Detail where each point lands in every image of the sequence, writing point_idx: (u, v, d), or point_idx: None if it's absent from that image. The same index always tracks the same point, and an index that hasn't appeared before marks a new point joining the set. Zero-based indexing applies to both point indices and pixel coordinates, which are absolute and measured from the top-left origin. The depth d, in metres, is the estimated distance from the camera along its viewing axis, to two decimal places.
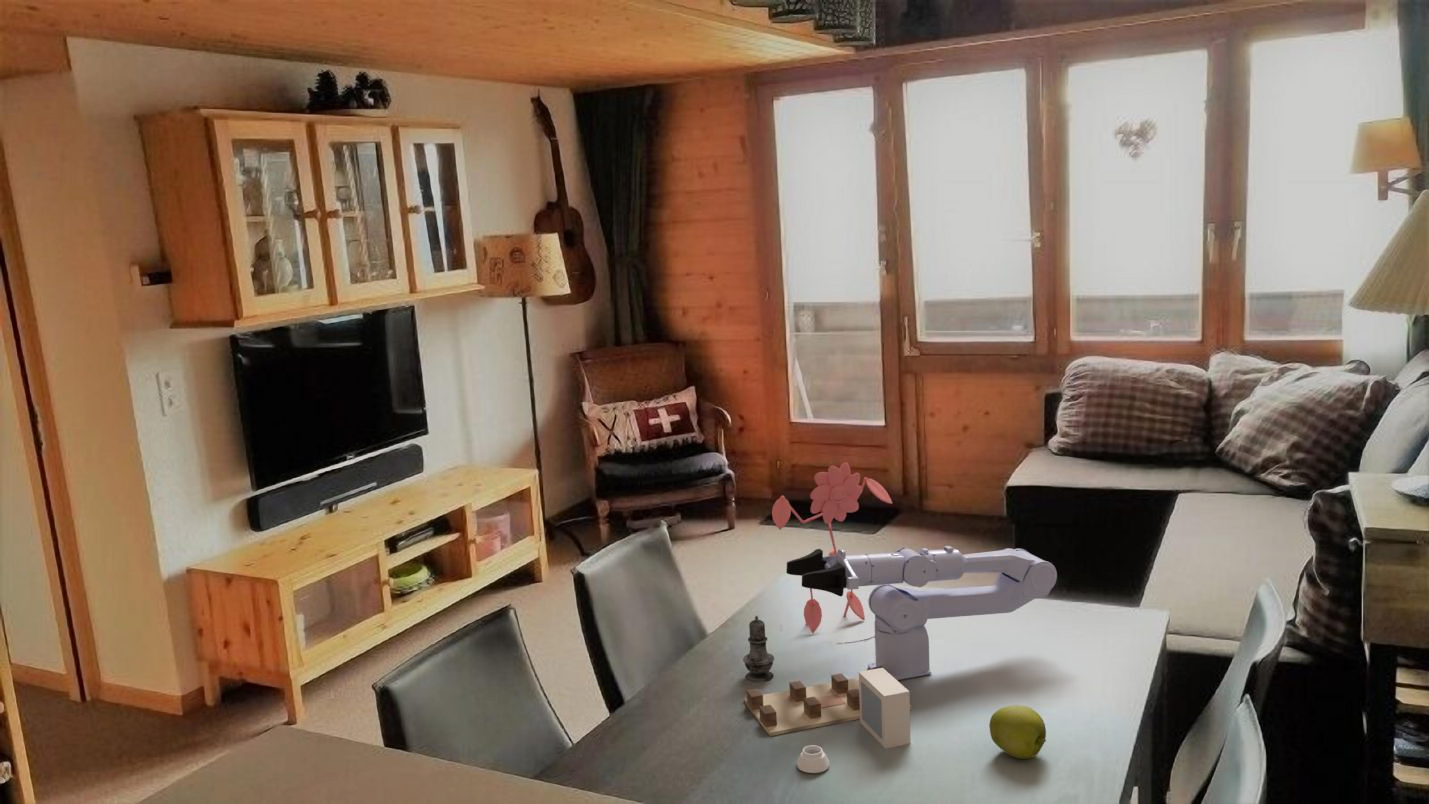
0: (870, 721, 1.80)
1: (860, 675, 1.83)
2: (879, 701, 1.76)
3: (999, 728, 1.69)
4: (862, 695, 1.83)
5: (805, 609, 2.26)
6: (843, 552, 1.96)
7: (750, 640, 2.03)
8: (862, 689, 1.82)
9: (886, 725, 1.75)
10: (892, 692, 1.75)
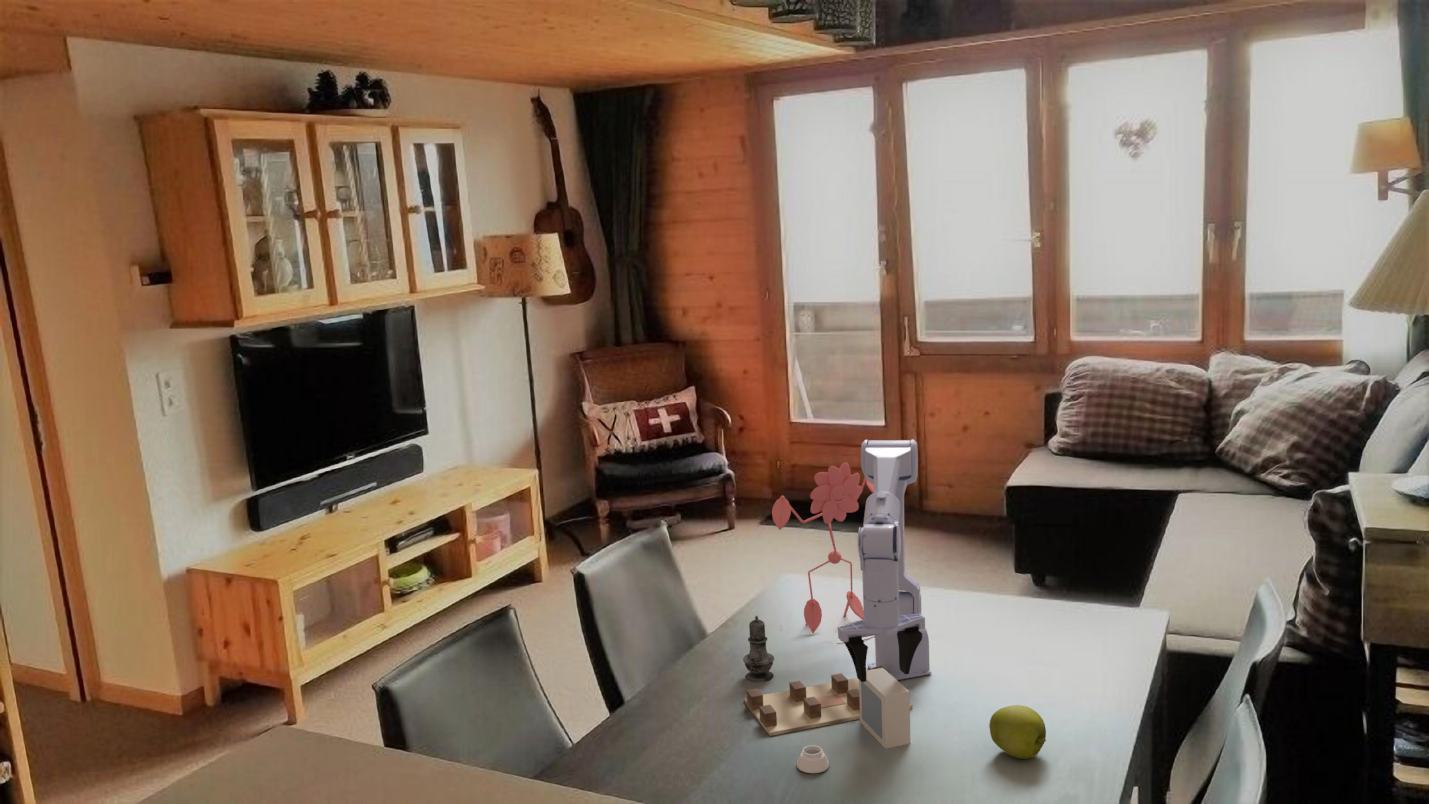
0: (870, 721, 1.80)
1: None
2: (879, 701, 1.76)
3: (999, 728, 1.69)
4: (862, 695, 1.83)
5: (805, 609, 2.26)
6: (897, 631, 1.74)
7: (750, 640, 2.03)
8: (862, 689, 1.82)
9: (886, 725, 1.75)
10: (892, 692, 1.75)
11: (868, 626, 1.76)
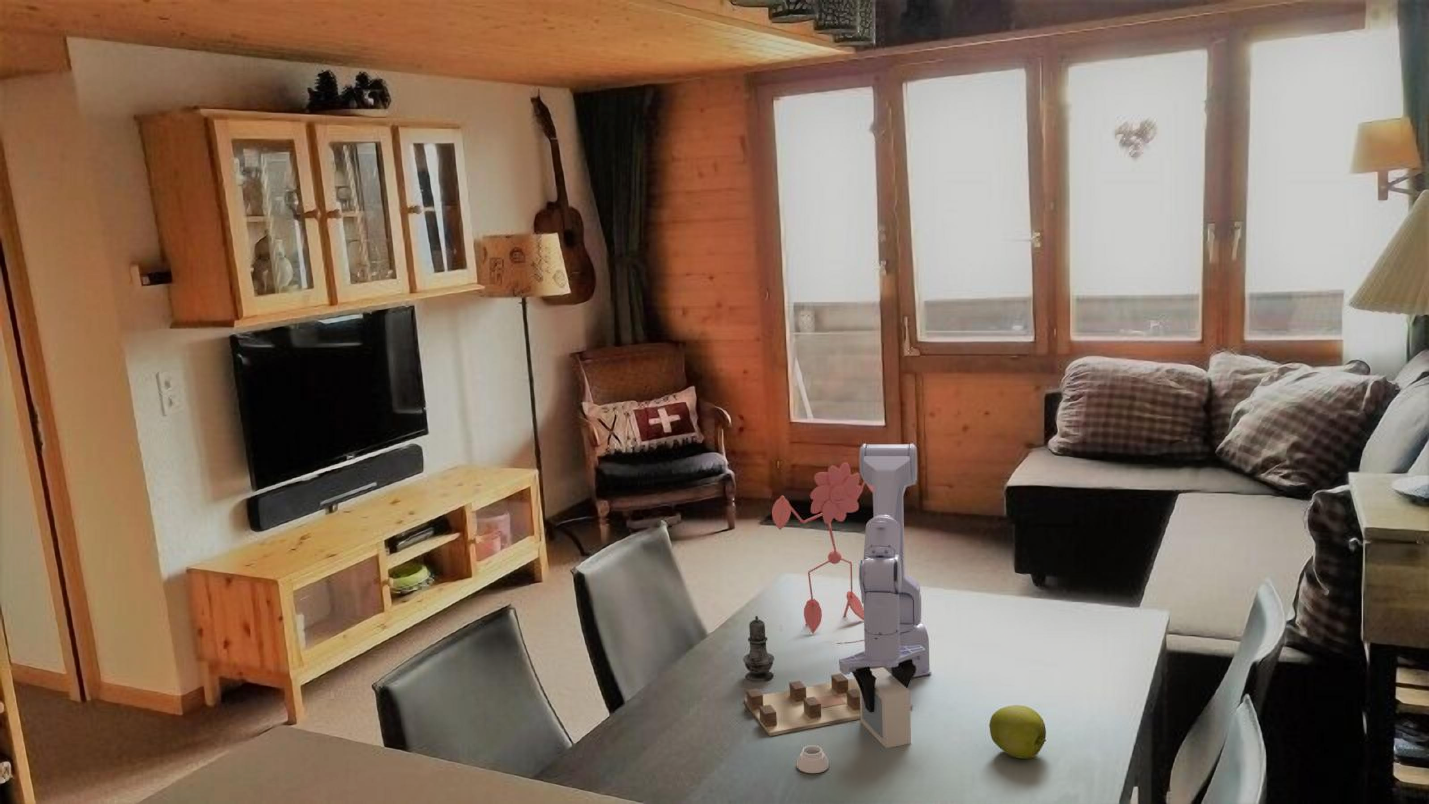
0: (870, 721, 1.80)
1: None
2: (879, 700, 1.76)
3: (999, 728, 1.69)
4: None
5: (805, 609, 2.26)
6: (897, 664, 1.75)
7: (750, 640, 2.03)
8: None
9: (886, 724, 1.75)
10: (893, 692, 1.75)
11: (869, 658, 1.77)
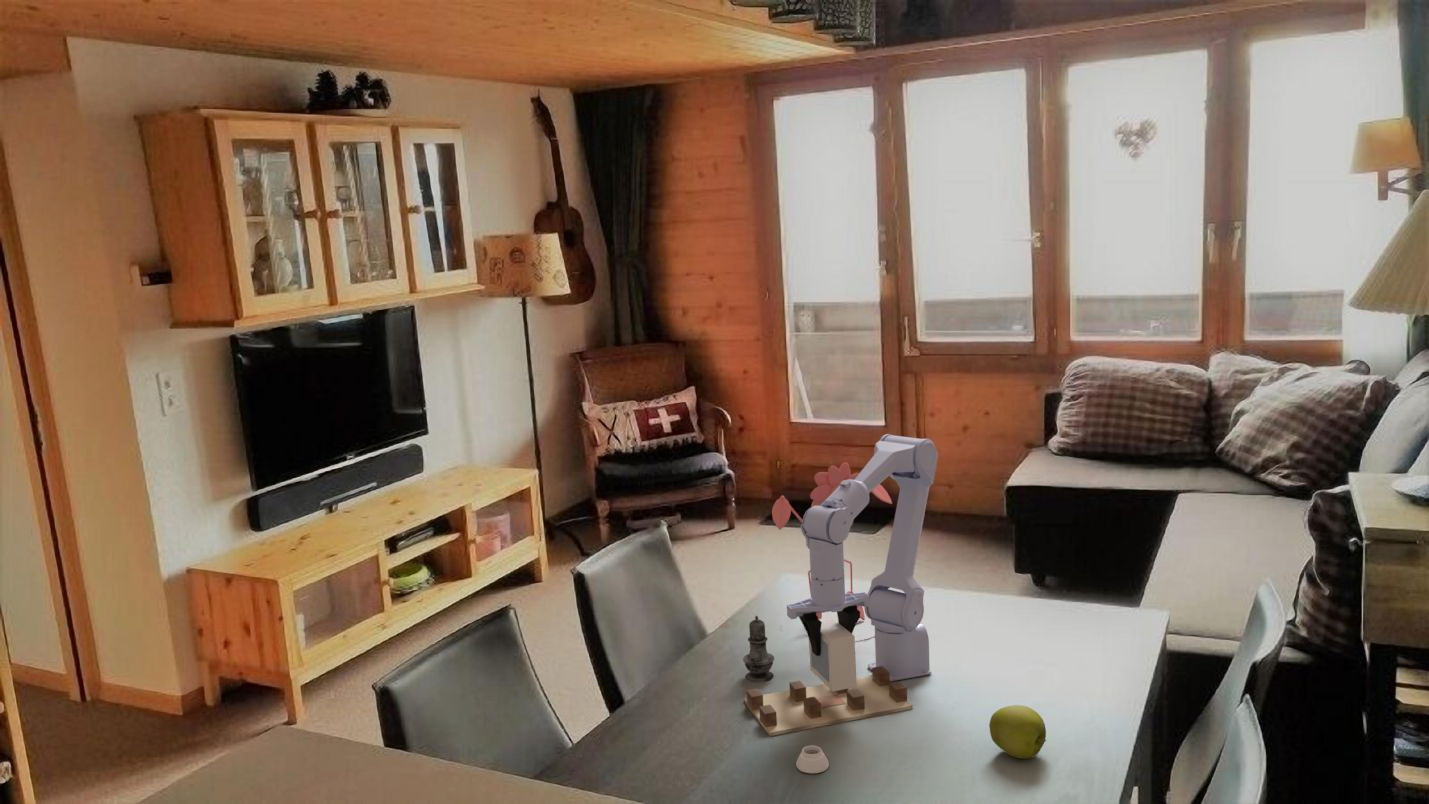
0: (818, 667, 1.89)
1: None
2: (826, 646, 1.84)
3: (999, 728, 1.69)
4: None
5: None
6: (842, 608, 1.84)
7: (750, 640, 2.03)
8: None
9: (832, 668, 1.84)
10: (838, 637, 1.84)
11: (815, 604, 1.86)
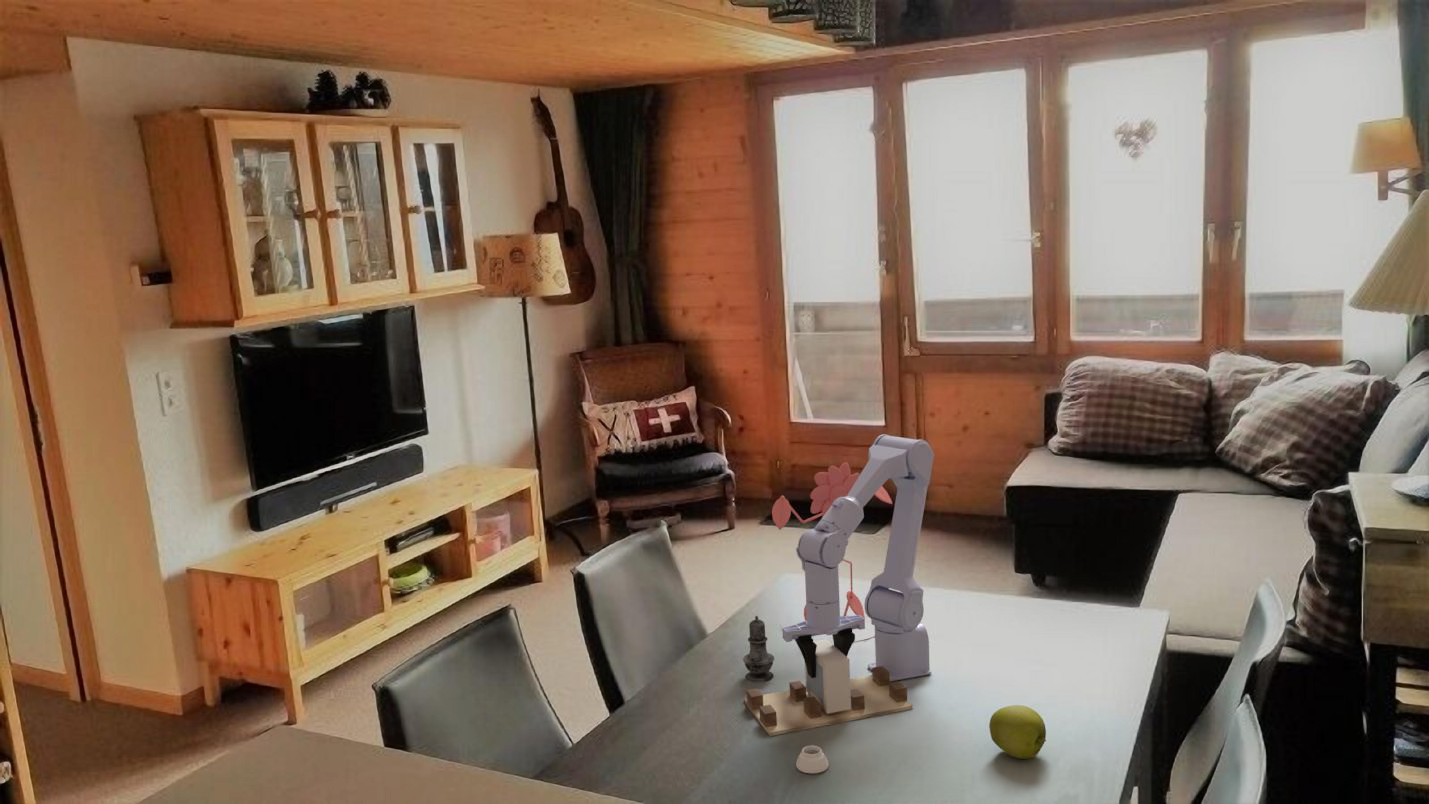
0: (814, 689, 1.91)
1: None
2: (821, 668, 1.86)
3: (999, 728, 1.69)
4: None
5: (805, 609, 2.26)
6: (837, 632, 1.86)
7: (750, 640, 2.03)
8: None
9: (827, 691, 1.85)
10: (833, 660, 1.86)
11: (810, 627, 1.88)
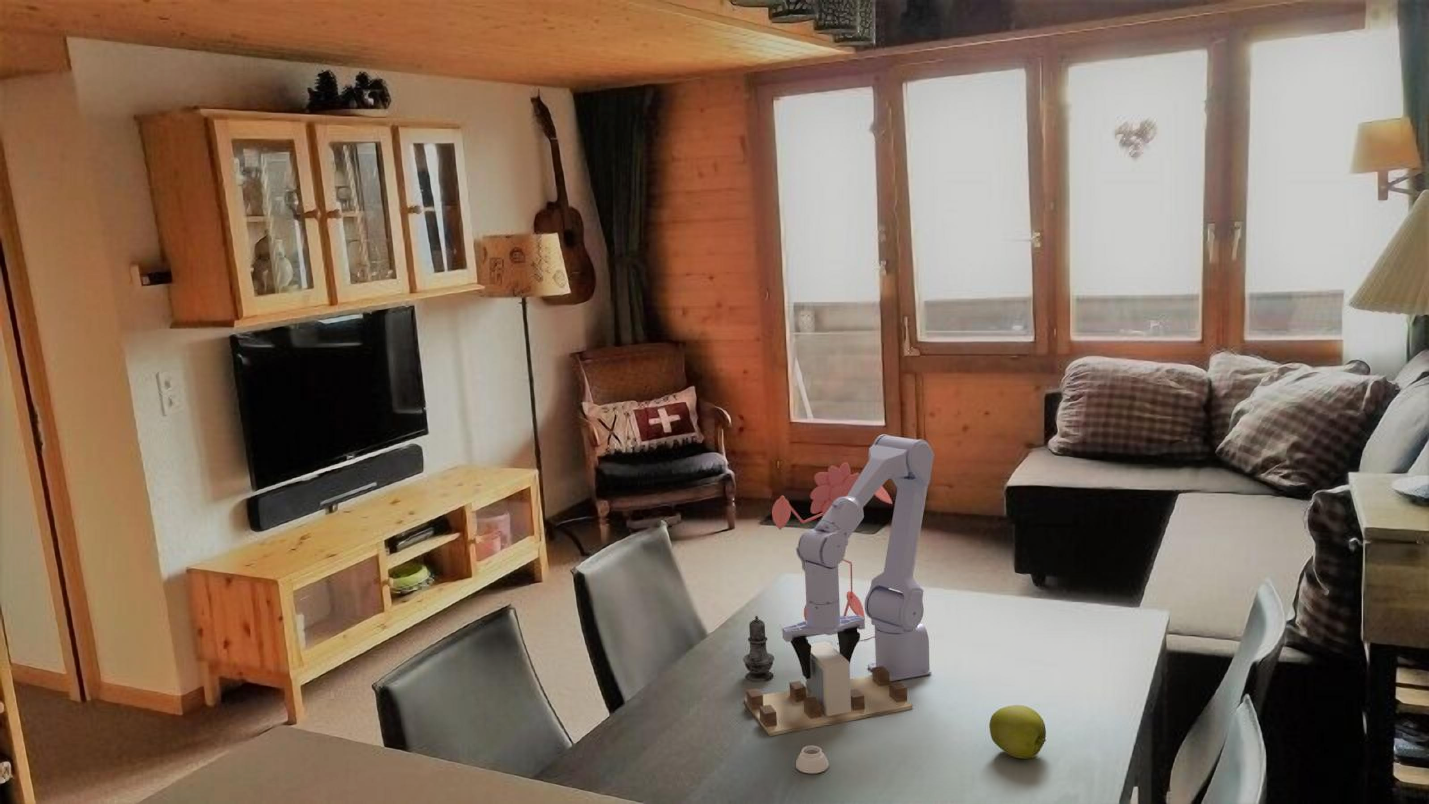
0: (814, 691, 1.91)
1: None
2: (821, 671, 1.86)
3: (999, 728, 1.69)
4: None
5: (805, 609, 2.26)
6: (837, 632, 1.86)
7: (750, 640, 2.03)
8: None
9: (827, 694, 1.86)
10: (833, 663, 1.86)
11: (810, 627, 1.88)
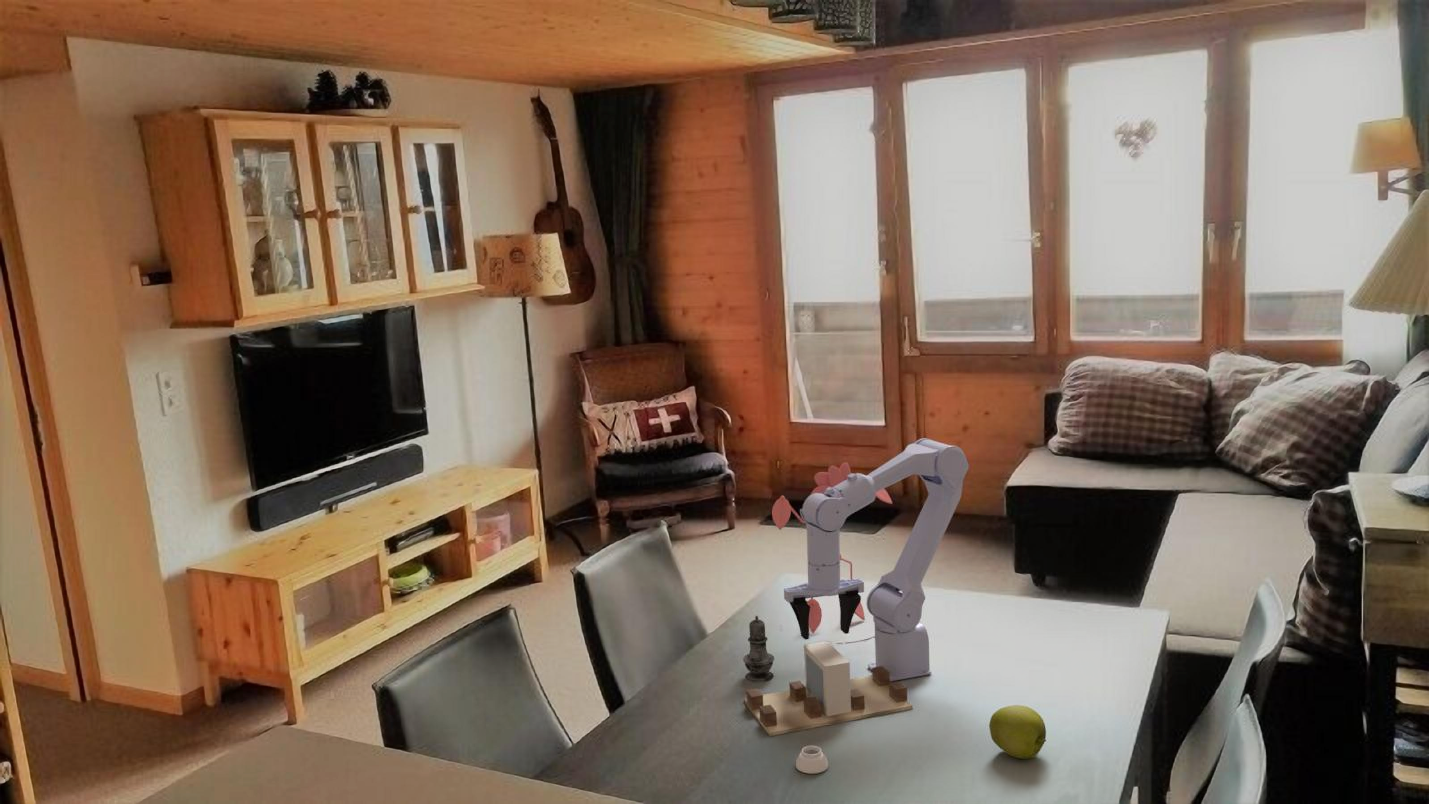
0: (814, 691, 1.91)
1: (805, 648, 1.93)
2: (821, 671, 1.86)
3: (999, 728, 1.69)
4: (806, 666, 1.93)
5: None
6: (837, 593, 1.92)
7: (750, 640, 2.03)
8: (807, 661, 1.93)
9: (827, 694, 1.86)
10: (833, 663, 1.86)
11: (811, 588, 1.93)
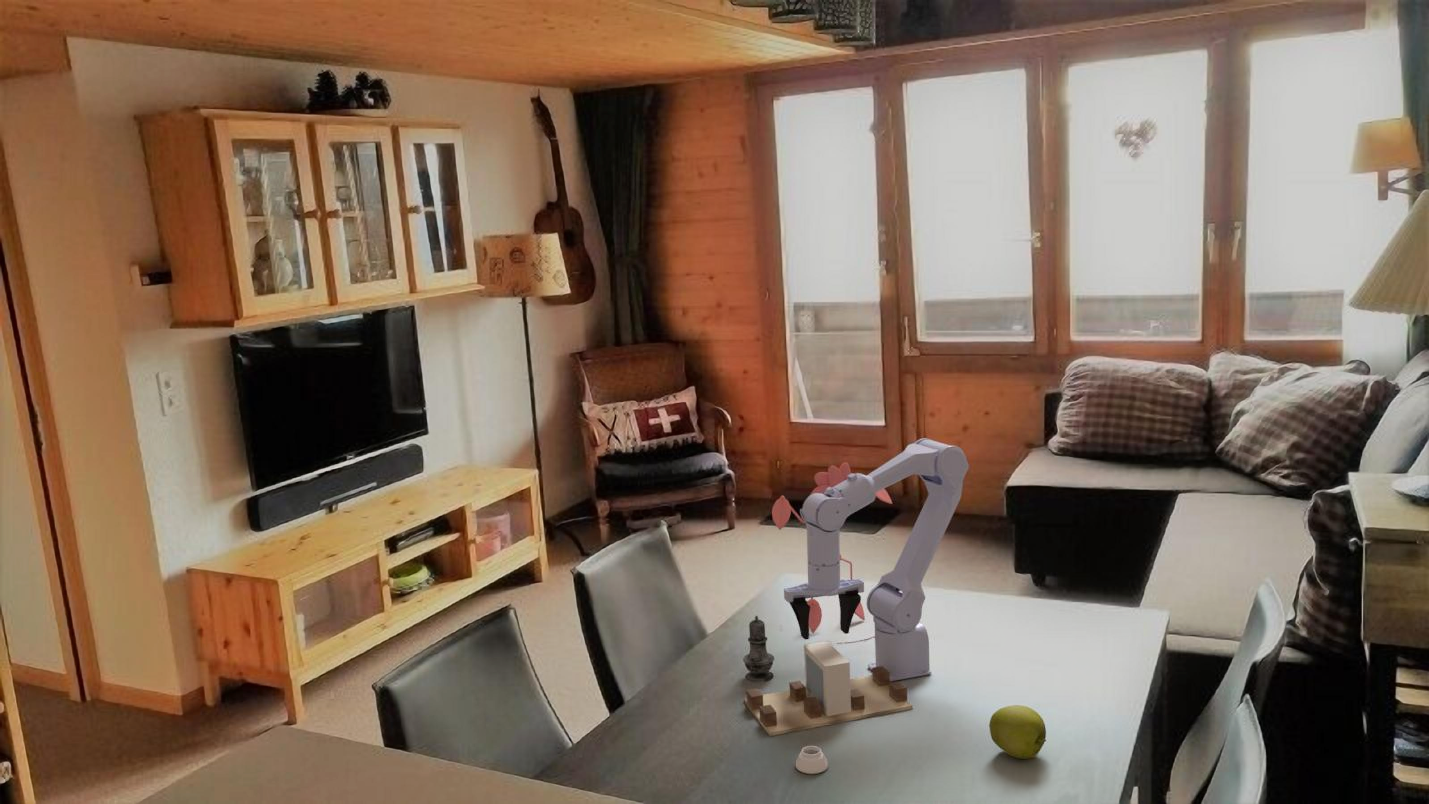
0: (814, 691, 1.91)
1: (805, 648, 1.93)
2: (821, 671, 1.86)
3: (999, 728, 1.69)
4: (806, 666, 1.93)
5: None
6: (837, 593, 1.92)
7: (750, 640, 2.03)
8: (807, 661, 1.93)
9: (827, 694, 1.86)
10: (833, 663, 1.86)
11: (811, 588, 1.93)
